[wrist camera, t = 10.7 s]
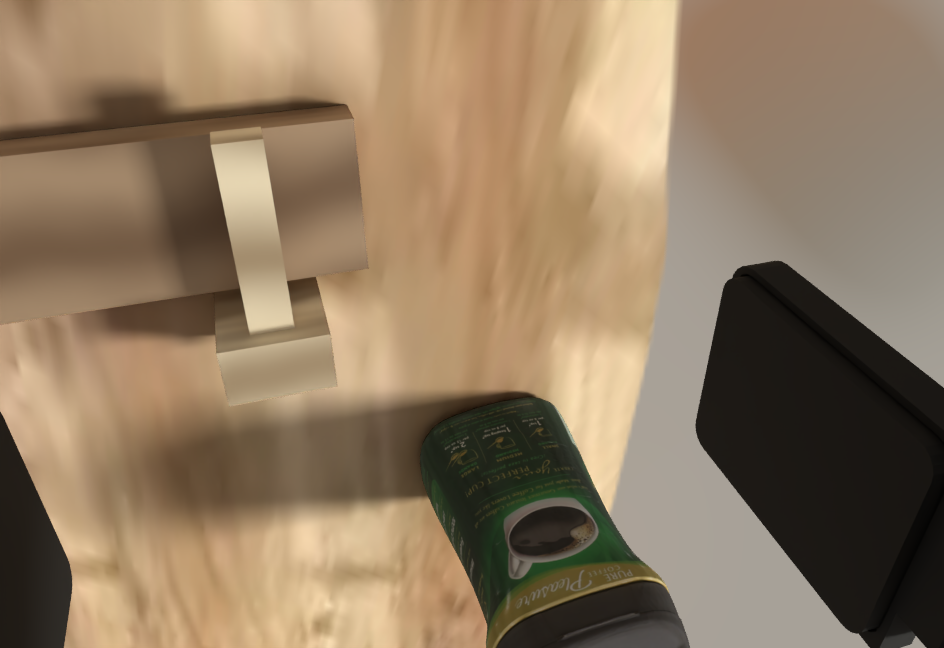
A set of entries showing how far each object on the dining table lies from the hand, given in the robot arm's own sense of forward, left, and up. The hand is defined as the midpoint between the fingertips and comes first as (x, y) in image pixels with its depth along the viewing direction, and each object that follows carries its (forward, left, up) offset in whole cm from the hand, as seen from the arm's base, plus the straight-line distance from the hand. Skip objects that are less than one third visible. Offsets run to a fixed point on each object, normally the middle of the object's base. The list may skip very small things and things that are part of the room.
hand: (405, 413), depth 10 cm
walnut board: (+9, -11, -28) cm, 31 cm away
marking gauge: (+11, -2, -28) cm, 30 cm away
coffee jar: (+28, +10, -28) cm, 41 cm away
